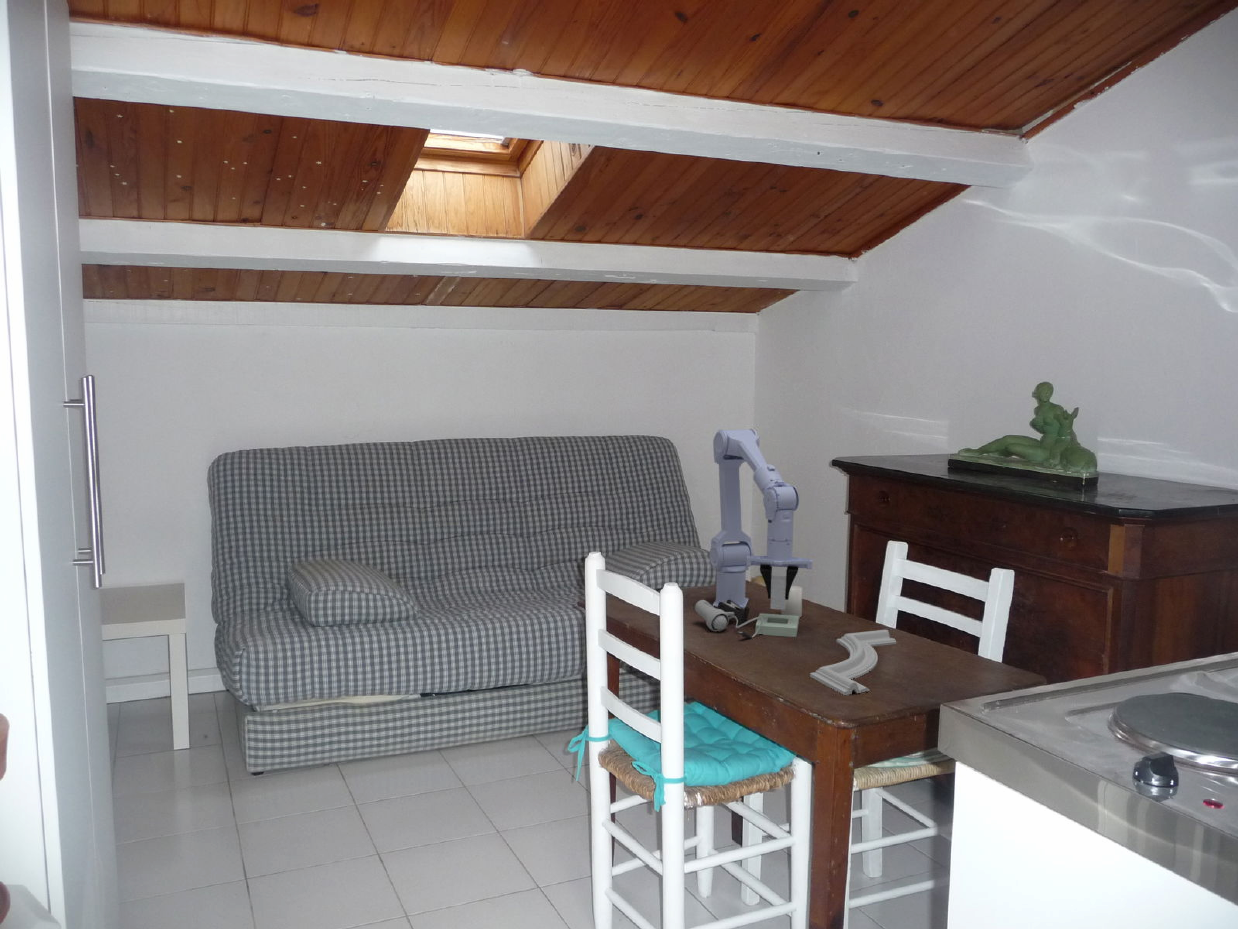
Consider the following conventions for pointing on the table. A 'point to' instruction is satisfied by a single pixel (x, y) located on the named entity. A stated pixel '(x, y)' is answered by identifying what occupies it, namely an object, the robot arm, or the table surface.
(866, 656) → the molding
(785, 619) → the socket board
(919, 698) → the table surface
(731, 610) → the clip-on lamp
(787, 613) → the cream round peg
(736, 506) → the robot arm
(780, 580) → the steel square peg
